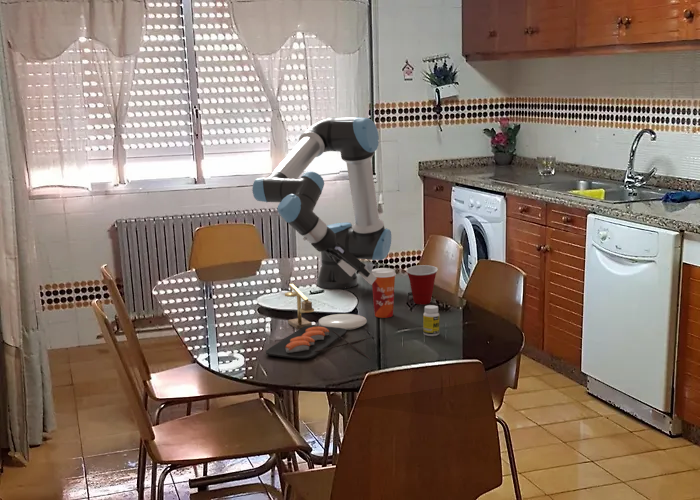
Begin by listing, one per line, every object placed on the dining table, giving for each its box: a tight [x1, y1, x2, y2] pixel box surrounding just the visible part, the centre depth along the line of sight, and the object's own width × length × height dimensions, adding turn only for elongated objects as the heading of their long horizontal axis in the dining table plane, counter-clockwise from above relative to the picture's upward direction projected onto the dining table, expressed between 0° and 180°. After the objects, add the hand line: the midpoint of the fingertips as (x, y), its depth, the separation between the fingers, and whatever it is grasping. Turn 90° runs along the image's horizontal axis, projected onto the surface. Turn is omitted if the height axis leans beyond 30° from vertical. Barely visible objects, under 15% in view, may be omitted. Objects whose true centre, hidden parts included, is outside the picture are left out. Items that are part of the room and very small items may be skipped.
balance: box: [284, 283, 315, 330], centre depth 250 cm, size 16×5×12 cm, turn 27°
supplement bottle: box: [422, 304, 440, 337], centre depth 238 cm, size 5×5×8 cm
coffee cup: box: [371, 267, 397, 319], centre depth 259 cm, size 8×8×15 cm
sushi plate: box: [265, 324, 373, 361], centre depth 228 cm, size 29×30×4 cm
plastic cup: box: [405, 264, 439, 305], centre depth 273 cm, size 11×11×12 cm
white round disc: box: [318, 313, 368, 331], centre depth 251 cm, size 15×15×1 cm
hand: (363, 277), depth 253 cm, fingers open, 13 cm apart
